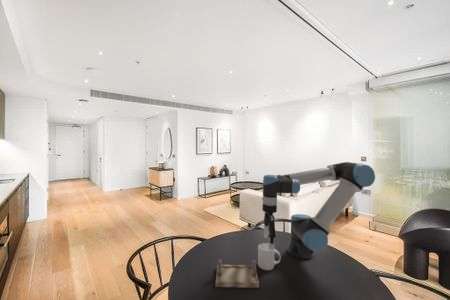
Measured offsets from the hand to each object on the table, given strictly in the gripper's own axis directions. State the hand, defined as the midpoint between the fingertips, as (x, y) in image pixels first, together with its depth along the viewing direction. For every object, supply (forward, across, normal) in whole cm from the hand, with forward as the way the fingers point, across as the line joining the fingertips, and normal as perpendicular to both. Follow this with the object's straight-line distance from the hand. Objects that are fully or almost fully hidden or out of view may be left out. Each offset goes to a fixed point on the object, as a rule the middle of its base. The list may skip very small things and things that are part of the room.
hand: (268, 242), depth 111 cm
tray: (+13, +10, -18) cm, 24 cm away
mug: (+13, 0, 0) cm, 13 cm away
